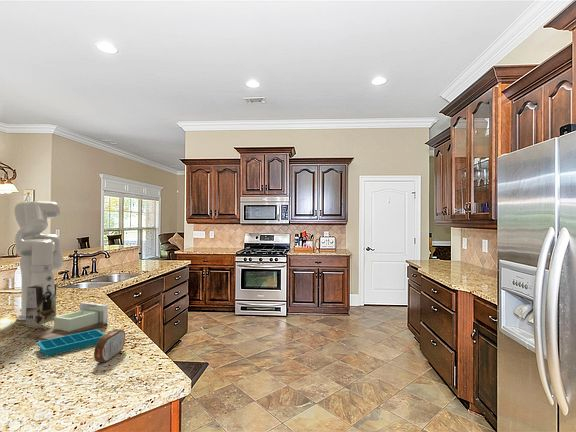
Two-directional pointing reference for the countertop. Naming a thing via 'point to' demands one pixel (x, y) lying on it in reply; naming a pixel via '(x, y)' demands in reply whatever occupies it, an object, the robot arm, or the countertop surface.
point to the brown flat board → (60, 332)
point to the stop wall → (98, 308)
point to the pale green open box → (75, 320)
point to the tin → (109, 345)
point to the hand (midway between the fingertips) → (41, 308)
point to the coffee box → (38, 307)
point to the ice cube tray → (70, 342)
